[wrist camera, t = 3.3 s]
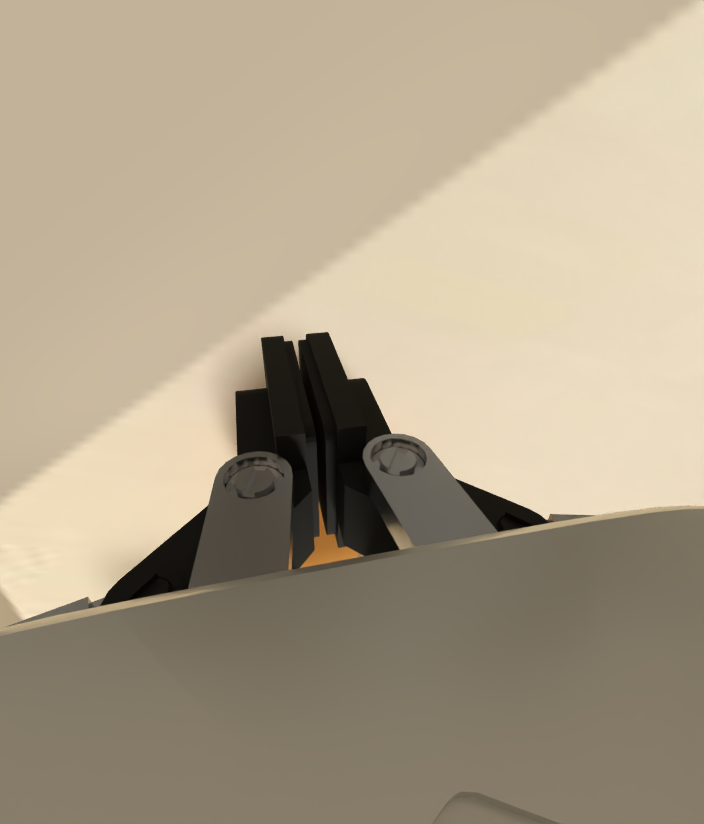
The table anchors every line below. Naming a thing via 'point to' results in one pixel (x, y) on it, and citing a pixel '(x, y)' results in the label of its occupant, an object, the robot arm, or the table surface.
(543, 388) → the table surface
